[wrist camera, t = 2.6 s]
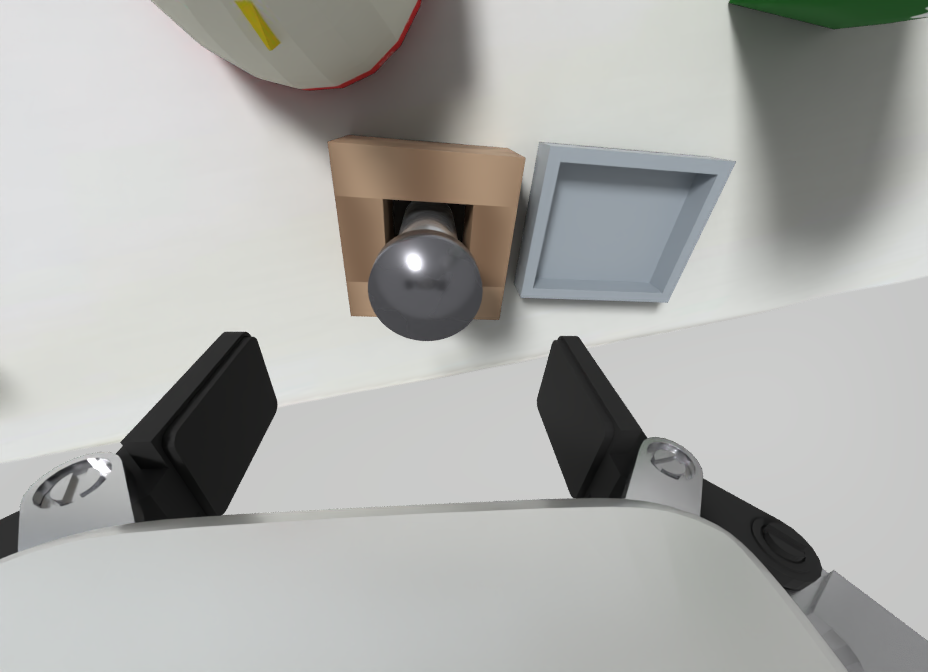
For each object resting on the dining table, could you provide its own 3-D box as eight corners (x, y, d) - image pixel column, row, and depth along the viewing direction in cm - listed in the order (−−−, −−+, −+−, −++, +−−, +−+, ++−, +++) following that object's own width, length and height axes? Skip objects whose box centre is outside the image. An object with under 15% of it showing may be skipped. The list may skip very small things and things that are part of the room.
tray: (708, 156, 23) (736, 161, 21) (650, 288, 28) (667, 302, 26) (539, 141, 21) (550, 145, 19) (513, 283, 27) (520, 297, 25)
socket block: (507, 148, 21) (525, 157, 17) (489, 287, 27) (499, 319, 23) (348, 134, 20) (327, 141, 16) (363, 283, 26) (351, 315, 22)
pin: (466, 187, 22) (489, 241, 13) (461, 257, 25) (476, 341, 16) (391, 181, 22) (362, 235, 13) (395, 254, 25) (372, 339, 16)
